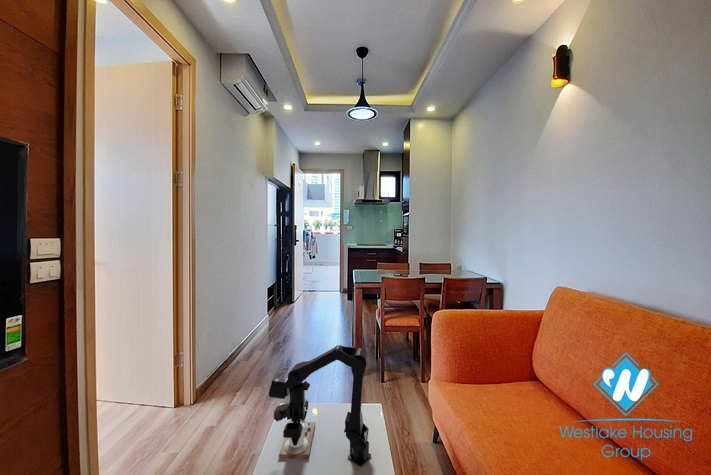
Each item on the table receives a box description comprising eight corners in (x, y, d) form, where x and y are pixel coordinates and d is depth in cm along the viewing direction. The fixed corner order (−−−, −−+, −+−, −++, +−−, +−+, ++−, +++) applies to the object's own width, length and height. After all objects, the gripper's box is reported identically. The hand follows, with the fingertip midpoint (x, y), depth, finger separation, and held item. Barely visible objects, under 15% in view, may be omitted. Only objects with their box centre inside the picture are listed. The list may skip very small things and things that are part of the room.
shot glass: (307, 436, 113) (307, 419, 113) (302, 449, 106) (302, 431, 106) (290, 435, 114) (290, 417, 113) (284, 448, 107) (285, 429, 107)
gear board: (315, 425, 123) (315, 417, 123) (308, 458, 105) (308, 448, 105) (289, 425, 123) (289, 416, 123) (278, 458, 105) (279, 448, 105)
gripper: (282, 385, 119) (281, 422, 119) (268, 414, 100) (268, 458, 100) (308, 386, 119) (308, 422, 119) (300, 414, 100) (300, 458, 100)
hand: (296, 439), depth 110 cm, fingers closed on shot glass, 6 cm apart
